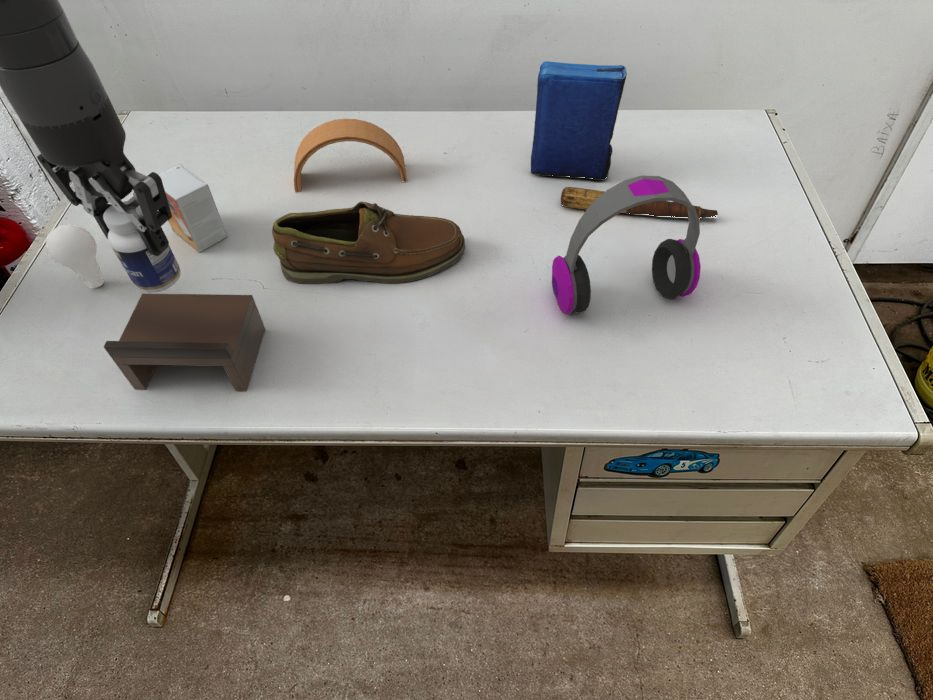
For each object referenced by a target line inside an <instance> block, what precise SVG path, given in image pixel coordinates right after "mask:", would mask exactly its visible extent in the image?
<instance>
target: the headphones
mask: <svg viewBox="0 0 933 700" xmlns="http://www.w3.org/2000/svg"><path fill="white" fill-rule="evenodd" d="M654 201H669V202H677V203H680V204H684V205H685V206H686V207H687V208H688V217H689V219H688V226H687V230H686V236H685V238H684V239H683V238H679V239H673V238H667V239H664V240H663V241H661V242H660V243H659V244H658V246H657V247H656V248H655V250H654V251H653V255H652V259H651V260H652V261H651V275H652V281H653V284H654V287H655V289H656V290H657V292H658V293H659V294H660V295H661V296H662V297H663V298H666V299H668V300H673V299H676V298H677V299H678V298H679V297H680V298H686V297H688V296H690V295H692V294H693V293H694V291H696V289H697V288H698V285H699V282H700V279H701V268H702V266H701V261H700V254H699V252H698V250H697V248H696V247H697V245H698V241H699V238H700V235H701V232H700V231H701V230H700V229H701V228H700V227H701V226H700V224H701V223H700V220H699V217H698V215H697V212H696V209H695V208H694V206H695V205H694V206H693V203H692V202H691V201H690V198H688V196H687V195H686V193H685V191H684V190H683V189H682V188H680V187H679V186H678V185H677V184H676V183H675V182H674V181H672V180H670V179H669V178H665V177H662V176H660V175H639V176H635V177H631V178H627V179H624V180H622V181H620V182H619V183H617V184H615V185H613V186H612V187H610V188H608V189H606V190H605V192H604V193H603V194H602V195H601V196H600V197H599V198H597V199H596V200H595V201H594V202H593V203H592V204H591V205H590V206H589V208H588V209H587V210H586V209H585V212H584V213H583V214H582V215H581V217H580V218H579V219H578V222H577V224H576V226H575V228H574V230H573V232H572V234H571V237H570V240H569V243H568V247H567V250H566V254H565V256H561V255H557V256H555V257H554V258H553V260H552V264H551V285H552V286H551V287H552V292H553V295H554V298H555V300H556V303H557V306H558V307H559V309H560V311H561V312H562V313H563V314H564V315H570V314H572V312H574V313H577V314H582V313H584V312H586V311H587V309H589V306H590V303H591V297H592V296H591V295H592V287H591V280H590V275H589V271H588V268H587V265H586V263H585V261H584V260H583V258H582V257H581V255H580V251H581V250H582V249H583V247H584V245H585V243H586V242H587V240H588V238H589V237H590V236H591V235H592V234H593V233H594V232H595V231H597V230H598V229H599V228H600V227H601V226H602V225H603V224H605V223H607V222H608V221H610V220H611V219H613V218H614V217H616V216H617V215H620V214H619V213H621V212H623V211H626V210H628V209H630V208H633V207H635V206H637V205H641V204H645V203H650V202H654Z"/></svg>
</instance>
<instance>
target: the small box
mask: <svg viewBox="0 0 933 700" xmlns="http://www.w3.org/2000/svg"><path fill="white" fill-rule="evenodd" d="M157 174H158V175H159V176H160V177H161V179H162V183H163V186H164V190H165V193H166V197H167V200H168V203H169V207H170V210H171V214H172V218H171V219H170V220H168V221H167V222H168V224H169V226H170V228H171V230H172V232H173V233H174V234H176V235H177V236H179V237H180V238H181V239H182V240H183V241H185V243H187V244H188V245H189V246H190V247H192V248H193V249H194V250H195V251H196V252H197V253H201V252H203V251H205V250H206V249H208V248H210V247H212V246H214V245H215V244H218V243H219V242H221V241H223V240H225V239H226V238H228V234H227V230H226V228H225V225H224V222H223V220H222V217H221V215H220V212H219V210H218V207H217V205H216V202H215V200H214V199H215V198H214V197H213V193H212V191H211V188H210V186H209V184H208V183H206V181H204V180H202V179H201V178H199V177H198V176H196V175H195V174H194V173H193V172H191V171H190V170H188V169H187V168H186V167H185V166H184V165H183V164H181V163H179V164H177V165H174V166H172V167H171V168H168V169H166V170H164V171H162V172H160V173H157Z"/></svg>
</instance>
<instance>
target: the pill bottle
mask: <svg viewBox="0 0 933 700" xmlns="http://www.w3.org/2000/svg"><path fill="white" fill-rule="evenodd" d="M127 201H128V200H125V201H124V200H123V201H122V202H123V203H126V202H127ZM136 212H137V214H138V215H139V216H140V217H142V216H143V214H142V211H141V208H140V205H139V206H138V207H137V208H136ZM103 219H104V221H105V223H106V225H107V227H108V228H109V233H108V239H107V242H108V243H109V245H110V247H111V249H112V250H113V252H114V254H115V256H116V257H117V259H118V260H119V263H120V264H121V266H122V268H123V269H124V271H125V272H126V274H127V276H128V277H129V279H130V281H131V282H132V284H133V285H134V287H135V288H136V289H137V290H139V291H141V292H144V293H158V292H159V293H160V292H162V291H166V290H167V289H170V288H171V287H172V286H174V285H175V284H176V283H177V282H178V280H179V279H180V277H181V267H180V265H179V263H178V261H177V258H176V256H175V254H174V252H173V250H172V249H171V246H170V244H169V245H168V247H167V249H166V250H164V251H163V252H162V253H161V254H160V255H159V256H155V255H152V254H150V253H149V251H148V249H147V247H146V245H145V244H144V242H143V240H142V238H141V236H140V234H139V232H138V228H137V227H136V226H135V225H134V224H133V223H132V221H131V220H130V219H129V218H128V217H127V215H125V214H123V215H122V214H119V213H118V212H117V211H116V209H115V208H114V207H113V206H110V207H109V208H108V209H107V210H106V211H105V212H104V215H103Z"/></svg>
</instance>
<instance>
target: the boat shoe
mask: <svg viewBox="0 0 933 700" xmlns="http://www.w3.org/2000/svg"><path fill="white" fill-rule="evenodd" d="M271 233H272V239H273V242H274V243H273V247H272V248H273V252H274V254H275V255H276V256H277V258H278V260H279V264H280V267H281V271H282V274H283V276H284V277H285V279H286V280H288V281H289V282H292V283H295V284H296V283H297V284H331V283H332V284H335V283H337V284H338V283H340V282H341V281H343V280H357V281H363V282H364V281H365V282H370V283H371V282H372V283H380V284H381V283H382V284H405V283H411V282H416V281H419V280H423V279H426V278H428V277H431V276H433V275H436V274H437V273H440V272H441V271H443V270H446V269H447V268H449V267H450V266H452V265H454V264H455V263H456V262H457V261H458V260H459V259H461V257H462V256H463V255H464V253H465V251H466V239H465V236H464V234H463V233H462V230H461V228H460V226H459V225H458V223H456V222H455V221H453V220H450V219H447V218H444V217H438V216H426V215H413V214H411V215H410V214H401V213H394V211H391V210H389V209H388V208H385V207H382V206H379V205H378V204H377V203H371V202H367V201H359V202H357V203H356V204H355V205H354V206H351V207H346V208H345V207H344V208H331V209H325V210H319V211H306V212H304V211H303V212H289V213H286V214H284V215H282V216H280V217H278V218H277V219H276V220H274V222H273V224H272V228H271Z"/></svg>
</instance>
